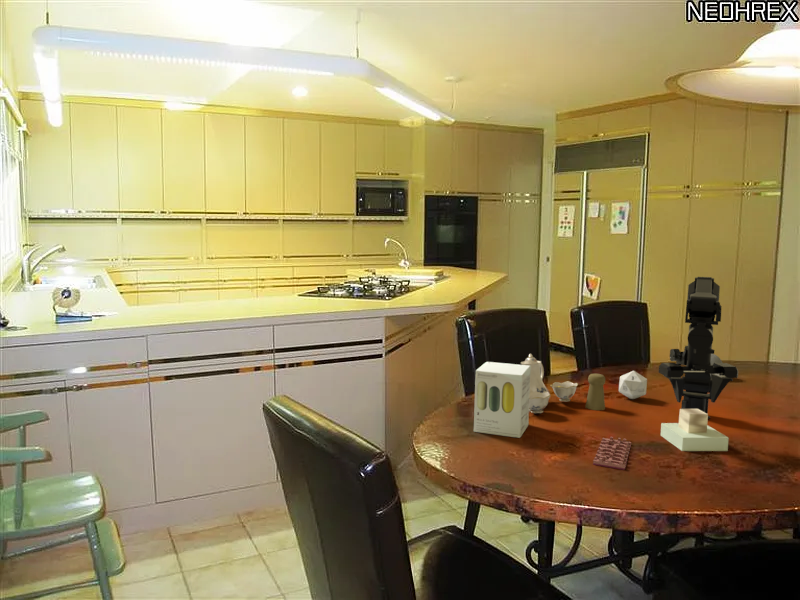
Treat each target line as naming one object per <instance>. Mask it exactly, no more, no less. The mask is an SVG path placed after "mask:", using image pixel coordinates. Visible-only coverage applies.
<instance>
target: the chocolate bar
mask: <svg viewBox="0 0 800 600" xmlns="http://www.w3.org/2000/svg"><path fill="white" fill-rule="evenodd" d="M631 446H632V442H631V441H627V439H626V438H623V439H621V437H617V439H614V437H613V436H610V437H609V438H605V437H602V439H601V441H600V443H599V446H598V450H597V451H596V453H595V457H594V458H593V461H592V462H593V463H592V465H594V466H599V467H605V468H611V469H616V470H617V469H618V470H622V471H623V470H626V466H627V463H628V459H629V454H630V451H631Z"/></svg>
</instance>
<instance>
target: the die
mask: <svg viewBox="0 0 800 600" xmlns="http://www.w3.org/2000/svg"><path fill="white" fill-rule="evenodd" d="M647 384H648V378H646V377H644V376H643V375H642V374H640V373H638V372H637V371H636V370H632V371H630V372H627V373H624V374H622V375H621V376H619V382H618V392H619V393H620V394H622V395H623V396H625V397H626V398H628V399H630V400H636V399H638V398H640V397H643V396H645V395H646V394H647Z"/></svg>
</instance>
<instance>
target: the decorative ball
mask: <svg viewBox="0 0 800 600" xmlns="http://www.w3.org/2000/svg"><path fill="white" fill-rule="evenodd" d="M714 363H723V361H722V359H721V358H720V357H719V356H718V355H717V354H715V353H714V354H711V365H713V364H714ZM710 376H711V374H710ZM710 379H712V378H711V377H710Z"/></svg>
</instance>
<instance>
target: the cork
mask: <svg viewBox="0 0 800 600" xmlns="http://www.w3.org/2000/svg"><path fill="white" fill-rule="evenodd" d="M587 381H588V384H589V387H588V392H587V396H586V401H585V406H584V407H585V409H588V410H592V411H604V410H606V405H605V404H606V403H605V389H604V385H605V384H606V377H605V376H604V374H600V373H590V374H589V375H588V378H587Z"/></svg>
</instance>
